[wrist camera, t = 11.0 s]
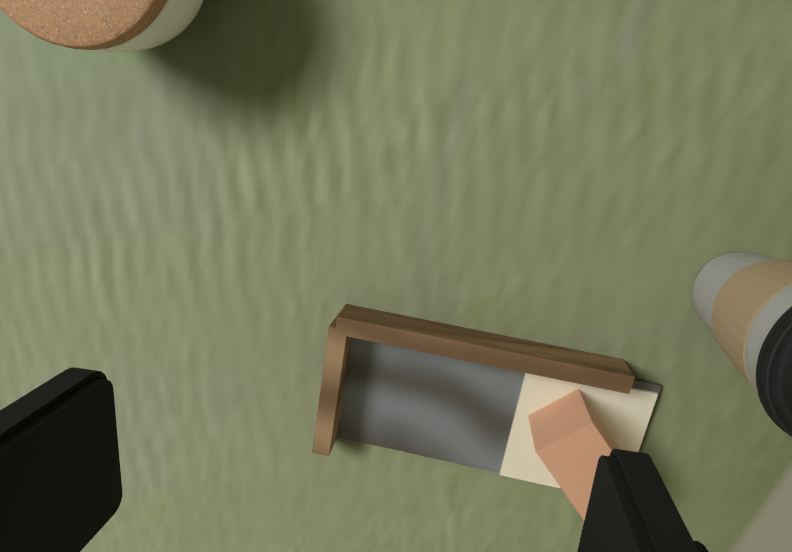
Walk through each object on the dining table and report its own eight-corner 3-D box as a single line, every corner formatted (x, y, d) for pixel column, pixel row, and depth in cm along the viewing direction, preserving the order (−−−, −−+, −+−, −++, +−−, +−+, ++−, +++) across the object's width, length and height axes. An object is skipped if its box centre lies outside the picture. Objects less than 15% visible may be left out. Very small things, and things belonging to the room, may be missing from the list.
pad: (527, 365, 42) (527, 367, 42) (656, 392, 41) (658, 394, 41) (499, 472, 45) (499, 474, 45) (620, 499, 44) (621, 501, 44)
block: (528, 415, 43) (535, 451, 38) (578, 388, 42) (592, 422, 37) (573, 480, 44) (586, 524, 39) (624, 456, 43) (643, 498, 38)
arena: (340, 302, 43) (330, 315, 40) (665, 367, 41) (680, 386, 38) (322, 432, 46) (312, 452, 44) (621, 498, 44) (631, 524, 41)
